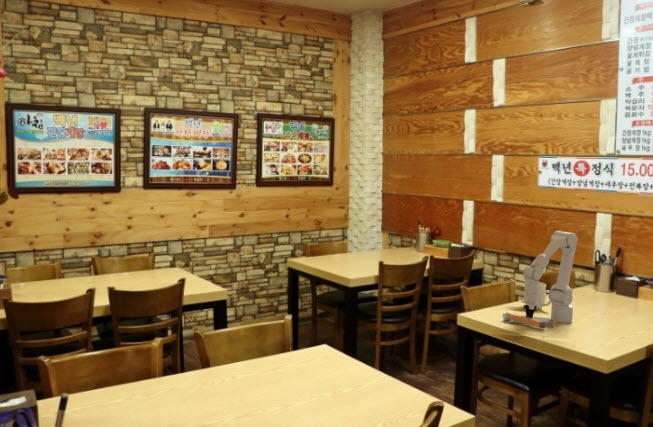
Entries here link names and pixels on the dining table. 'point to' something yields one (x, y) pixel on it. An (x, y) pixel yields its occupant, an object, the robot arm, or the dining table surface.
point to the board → (508, 321)
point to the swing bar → (528, 320)
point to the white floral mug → (541, 295)
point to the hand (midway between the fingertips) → (529, 320)
